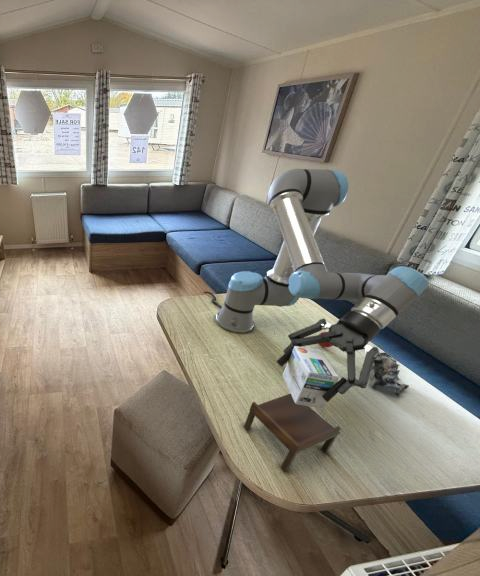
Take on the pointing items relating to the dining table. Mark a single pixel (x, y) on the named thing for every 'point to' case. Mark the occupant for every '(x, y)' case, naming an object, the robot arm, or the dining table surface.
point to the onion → (325, 343)
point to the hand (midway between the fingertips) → (300, 380)
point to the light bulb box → (309, 376)
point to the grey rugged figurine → (383, 367)
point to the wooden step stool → (293, 426)
